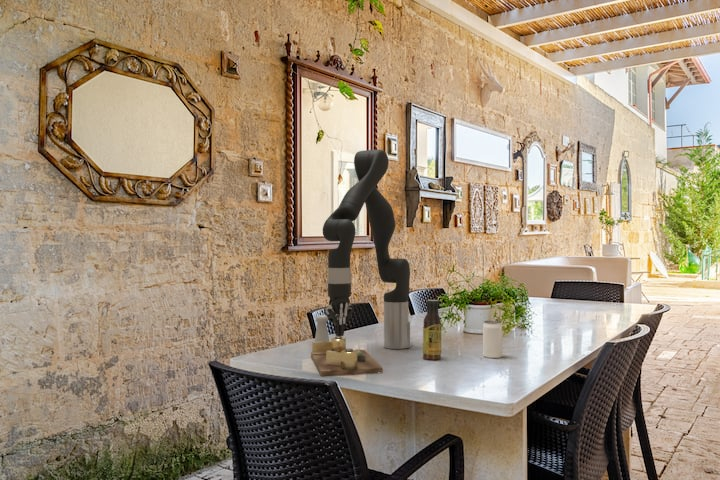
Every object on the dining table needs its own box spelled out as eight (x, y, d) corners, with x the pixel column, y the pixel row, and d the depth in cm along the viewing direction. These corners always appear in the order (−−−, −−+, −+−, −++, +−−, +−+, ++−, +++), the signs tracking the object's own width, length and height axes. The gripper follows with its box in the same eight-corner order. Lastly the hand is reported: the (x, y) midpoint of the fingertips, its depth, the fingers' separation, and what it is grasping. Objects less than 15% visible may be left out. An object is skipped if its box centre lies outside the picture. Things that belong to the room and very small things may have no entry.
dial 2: (360, 367, 181) (360, 349, 181) (350, 370, 177) (350, 351, 177) (332, 362, 189) (332, 344, 188) (322, 365, 185) (322, 347, 185)
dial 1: (345, 351, 205) (345, 335, 205) (346, 354, 200) (346, 338, 200) (312, 352, 204) (312, 336, 204) (312, 355, 199) (312, 339, 199)
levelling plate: (364, 353, 209) (364, 340, 209) (382, 372, 181) (382, 357, 181) (311, 356, 206) (310, 343, 206) (320, 376, 177) (320, 360, 177)
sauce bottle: (429, 361, 196) (428, 301, 196) (419, 357, 202) (418, 299, 201) (445, 359, 199) (445, 300, 199) (435, 355, 205) (434, 298, 204)
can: (503, 355, 204) (503, 320, 204) (501, 359, 198) (501, 323, 198) (484, 354, 206) (484, 320, 206) (482, 357, 200) (481, 322, 200)
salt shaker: (327, 352, 212) (327, 316, 212) (312, 352, 213) (311, 316, 213) (331, 349, 218) (331, 314, 218) (316, 349, 219) (316, 314, 219)
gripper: (334, 283, 180) (334, 340, 181) (361, 281, 191) (361, 334, 191) (316, 282, 185) (316, 337, 185) (344, 280, 195) (344, 332, 196)
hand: (339, 336), depth 188 cm, fingers closed
